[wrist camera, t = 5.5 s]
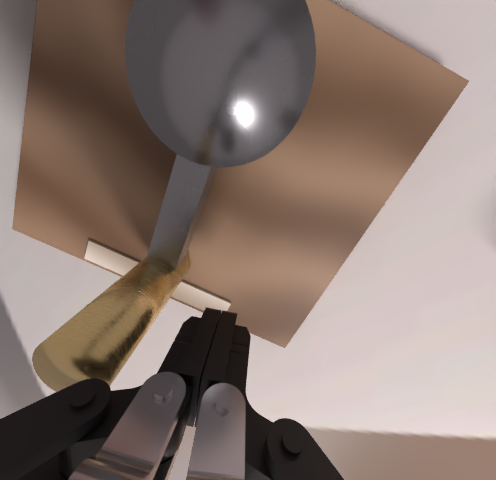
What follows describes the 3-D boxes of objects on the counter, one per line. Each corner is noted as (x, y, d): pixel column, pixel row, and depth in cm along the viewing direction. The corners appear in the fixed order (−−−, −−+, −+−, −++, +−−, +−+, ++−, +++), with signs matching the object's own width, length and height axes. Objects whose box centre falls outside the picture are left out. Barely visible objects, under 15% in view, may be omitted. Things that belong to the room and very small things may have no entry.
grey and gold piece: (184, -34, 10) (-81, -653, 2) (330, 39, 10) (507, -283, 3) (115, 255, 15) (-43, 357, 7) (217, 296, 15) (169, 433, 8)
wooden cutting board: (82, -117, 11) (47, -169, 9) (445, 90, 12) (474, 79, 11) (33, 223, 17) (7, 230, 15) (283, 333, 18) (285, 351, 17)
